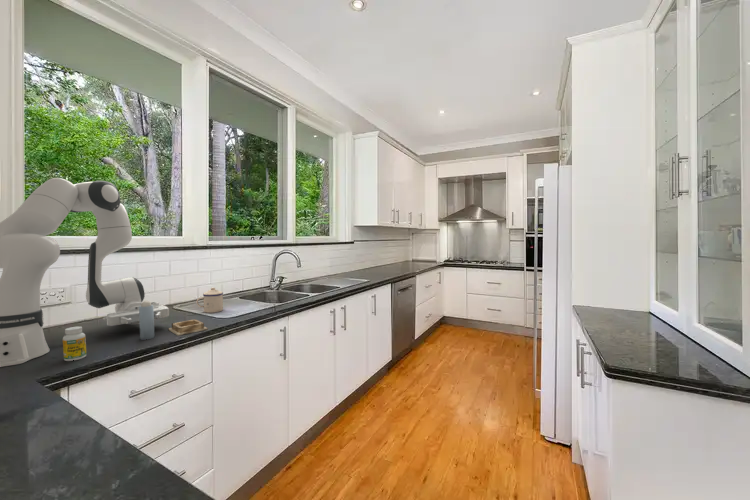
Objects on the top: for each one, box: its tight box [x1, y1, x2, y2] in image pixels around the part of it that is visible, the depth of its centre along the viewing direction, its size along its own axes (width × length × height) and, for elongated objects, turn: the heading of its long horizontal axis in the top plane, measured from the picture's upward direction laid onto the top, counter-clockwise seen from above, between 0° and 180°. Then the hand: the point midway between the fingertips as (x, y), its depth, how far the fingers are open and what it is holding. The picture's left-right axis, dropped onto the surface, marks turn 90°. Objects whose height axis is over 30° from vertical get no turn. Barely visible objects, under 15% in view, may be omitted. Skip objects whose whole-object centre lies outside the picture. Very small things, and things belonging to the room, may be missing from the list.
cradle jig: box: [168, 318, 208, 336], centre depth 136 cm, size 11×11×3 cm
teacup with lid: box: [196, 286, 224, 314], centre depth 168 cm, size 12×9×12 cm
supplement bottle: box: [62, 326, 87, 362], centre depth 106 cm, size 5×5×10 cm
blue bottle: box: [139, 300, 155, 341], centre depth 126 cm, size 4×4×14 cm
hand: (144, 319), depth 128 cm, fingers open, 8 cm apart
